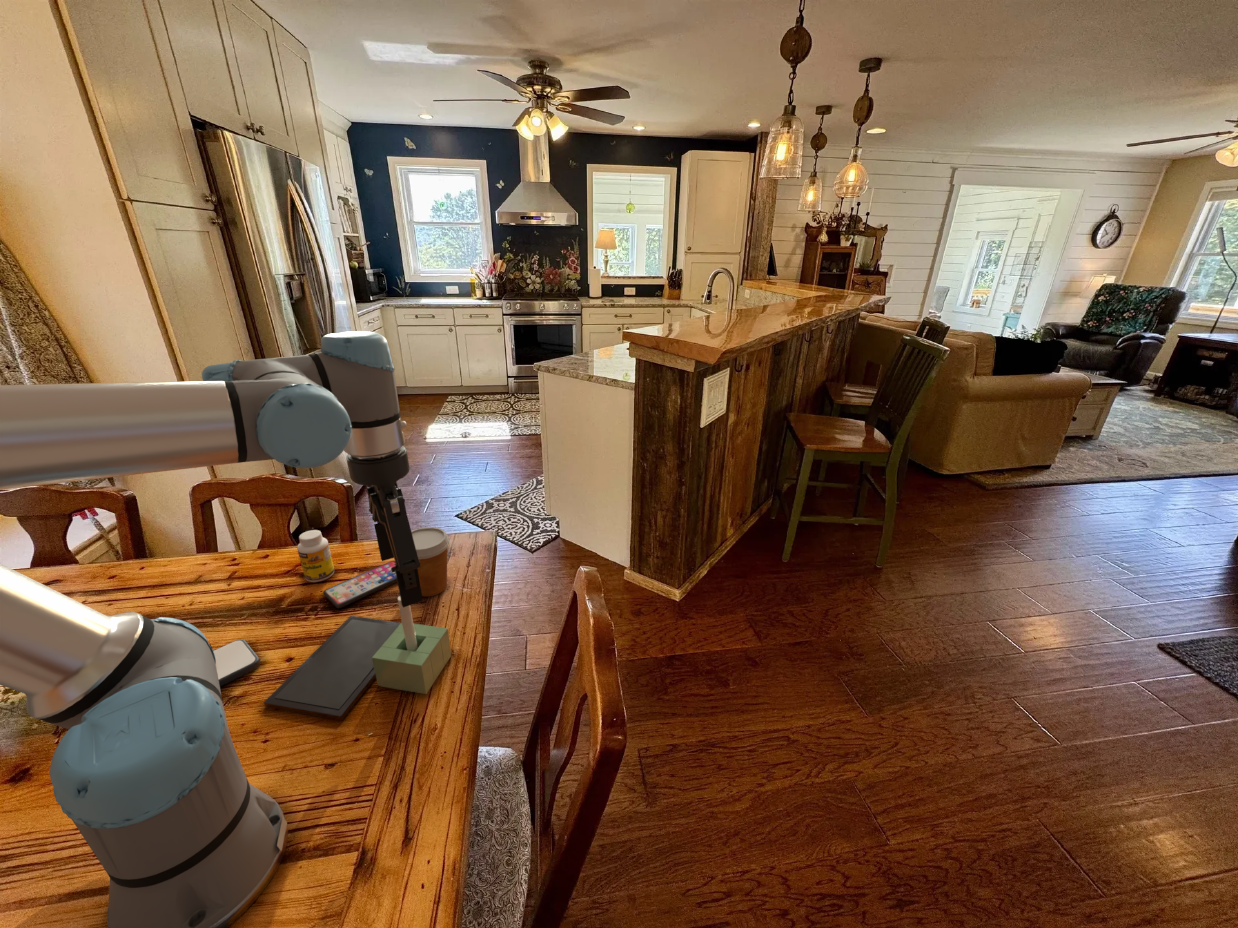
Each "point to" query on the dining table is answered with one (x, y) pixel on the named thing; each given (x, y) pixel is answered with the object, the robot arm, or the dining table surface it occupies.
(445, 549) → the disposable coffee cup
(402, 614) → the stylus
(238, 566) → the dining table surface
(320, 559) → the supplement bottle
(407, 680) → the pen stand
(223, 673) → the phone case
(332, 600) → the smartphone
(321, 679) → the tablet
